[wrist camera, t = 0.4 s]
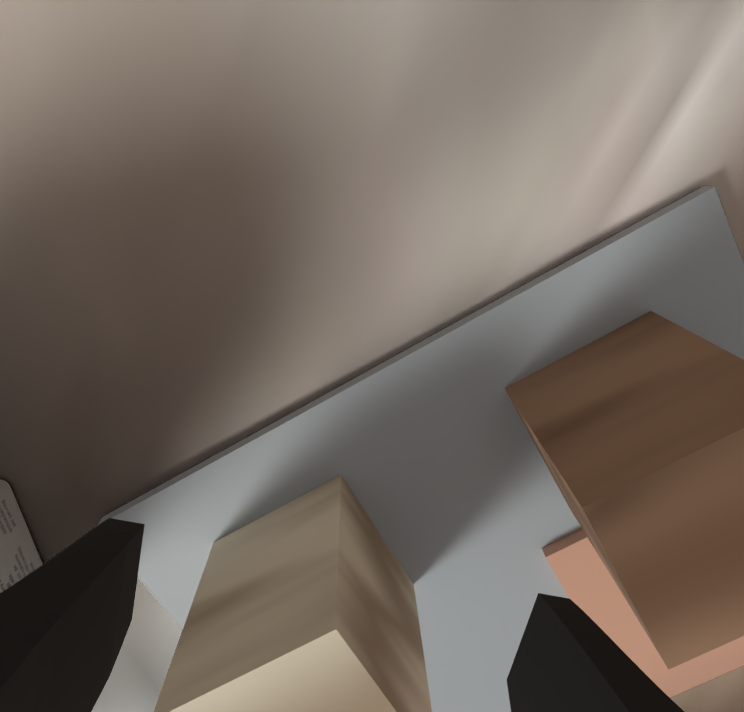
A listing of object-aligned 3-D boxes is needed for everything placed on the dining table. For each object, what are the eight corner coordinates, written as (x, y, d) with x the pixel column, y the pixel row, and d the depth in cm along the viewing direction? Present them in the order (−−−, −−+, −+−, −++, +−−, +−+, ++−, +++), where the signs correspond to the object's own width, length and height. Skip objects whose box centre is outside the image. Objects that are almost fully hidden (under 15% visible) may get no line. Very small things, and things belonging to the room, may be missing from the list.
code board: (861, 593, 24) (874, 605, 23) (353, 820, 26) (353, 835, 26) (703, 185, 19) (715, 186, 18) (102, 516, 22) (95, 527, 21)
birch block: (413, 584, 22) (441, 771, 15) (292, 644, 23) (267, 849, 16) (340, 474, 21) (335, 628, 14) (213, 542, 21) (150, 720, 15)
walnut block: (707, 438, 21) (877, 575, 14) (569, 507, 21) (668, 669, 15) (651, 310, 19) (810, 395, 13) (504, 388, 20) (582, 507, 13)
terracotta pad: (830, 612, 23) (840, 621, 23) (629, 702, 24) (635, 713, 24) (760, 441, 21) (769, 448, 20) (541, 548, 22) (545, 557, 21)
